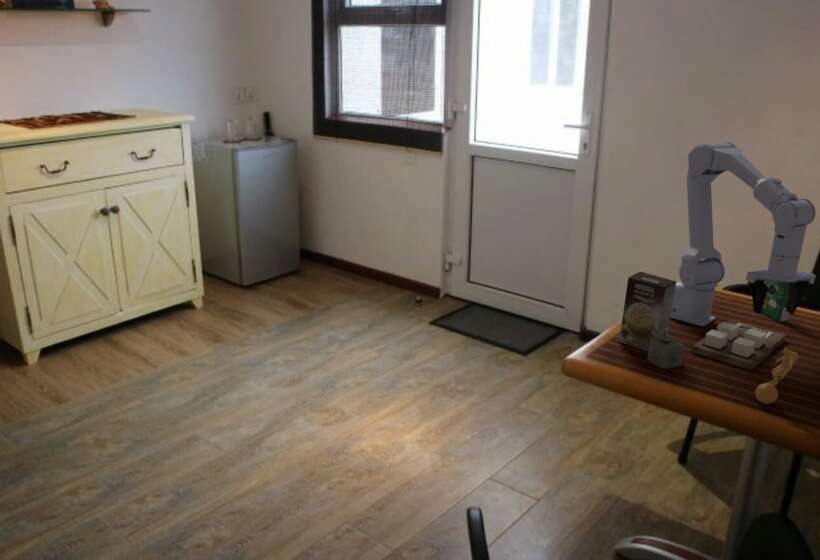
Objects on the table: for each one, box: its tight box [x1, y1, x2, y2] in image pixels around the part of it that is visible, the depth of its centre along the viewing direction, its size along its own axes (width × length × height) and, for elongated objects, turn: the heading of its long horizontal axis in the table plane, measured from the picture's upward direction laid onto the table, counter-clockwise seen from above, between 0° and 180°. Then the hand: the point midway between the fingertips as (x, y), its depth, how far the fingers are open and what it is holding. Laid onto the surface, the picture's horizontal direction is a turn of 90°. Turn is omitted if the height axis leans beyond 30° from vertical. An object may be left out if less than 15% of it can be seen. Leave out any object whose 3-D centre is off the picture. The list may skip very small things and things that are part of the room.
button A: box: [716, 321, 739, 342], centre depth 169 cm, size 4×4×3 cm
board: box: [691, 319, 787, 371], centre depth 168 cm, size 13×23×2 cm, turn 137°
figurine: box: [754, 347, 799, 405], centre depth 140 cm, size 8×6×12 cm
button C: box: [704, 329, 728, 350], centre depth 164 cm, size 4×4×3 cm
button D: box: [731, 337, 756, 358], centre depth 160 cm, size 4×4×3 cm
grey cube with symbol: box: [646, 335, 685, 370], centre depth 158 cm, size 5×5×5 cm
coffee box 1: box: [618, 271, 677, 353], centre depth 165 cm, size 9×6×16 cm
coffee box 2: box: [761, 282, 791, 323], centre depth 185 cm, size 8×3×13 cm, turn 13°
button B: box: [743, 329, 766, 349], centre depth 165 cm, size 4×4×3 cm
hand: (773, 312), depth 162 cm, fingers open, 7 cm apart
